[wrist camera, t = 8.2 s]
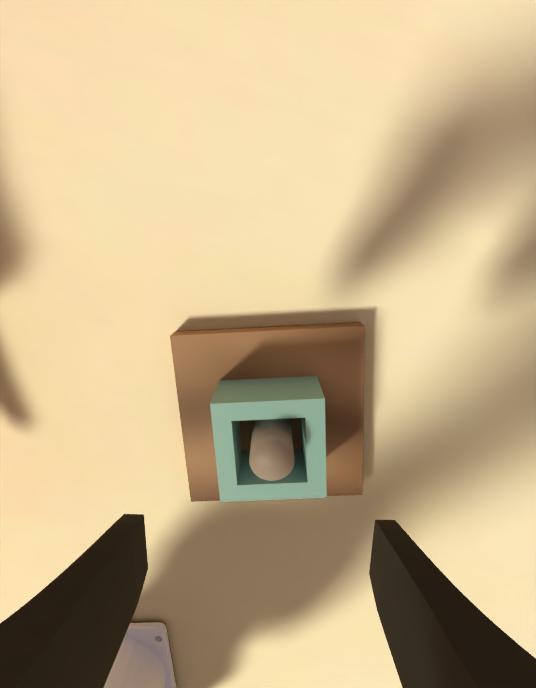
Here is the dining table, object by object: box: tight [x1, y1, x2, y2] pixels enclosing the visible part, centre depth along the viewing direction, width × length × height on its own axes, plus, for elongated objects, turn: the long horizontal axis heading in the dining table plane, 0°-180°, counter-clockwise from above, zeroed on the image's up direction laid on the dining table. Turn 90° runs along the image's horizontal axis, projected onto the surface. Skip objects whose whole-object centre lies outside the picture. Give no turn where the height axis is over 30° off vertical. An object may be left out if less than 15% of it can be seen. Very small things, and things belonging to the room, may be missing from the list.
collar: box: [210, 376, 327, 502], centre depth 18 cm, size 5×5×3 cm
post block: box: [170, 322, 364, 502], centre depth 18 cm, size 10×10×5 cm
